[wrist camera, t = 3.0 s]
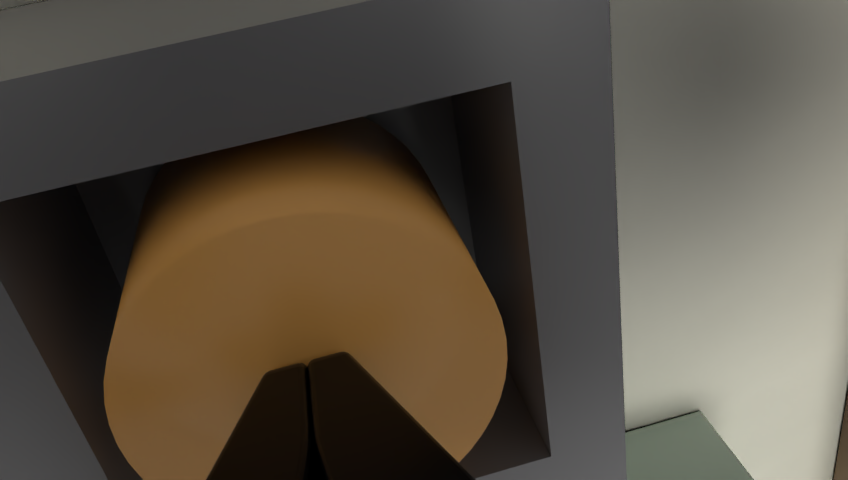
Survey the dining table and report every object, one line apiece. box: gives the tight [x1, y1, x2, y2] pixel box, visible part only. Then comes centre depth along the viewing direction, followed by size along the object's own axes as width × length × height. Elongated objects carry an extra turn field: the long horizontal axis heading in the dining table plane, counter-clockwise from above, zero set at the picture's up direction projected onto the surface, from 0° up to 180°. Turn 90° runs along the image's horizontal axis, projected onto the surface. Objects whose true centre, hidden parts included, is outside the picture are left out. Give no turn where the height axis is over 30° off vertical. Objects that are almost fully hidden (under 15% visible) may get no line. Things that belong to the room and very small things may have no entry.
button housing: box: [0, 0, 627, 480], centre depth 10 cm, size 7×7×4 cm
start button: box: [104, 117, 508, 480], centre depth 9 cm, size 4×4×3 cm
